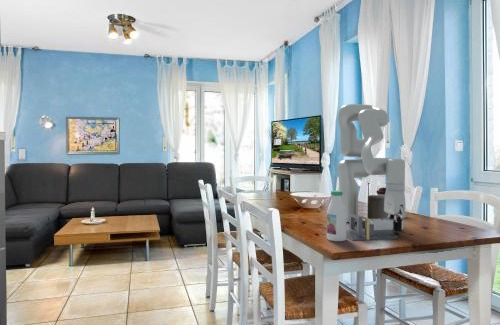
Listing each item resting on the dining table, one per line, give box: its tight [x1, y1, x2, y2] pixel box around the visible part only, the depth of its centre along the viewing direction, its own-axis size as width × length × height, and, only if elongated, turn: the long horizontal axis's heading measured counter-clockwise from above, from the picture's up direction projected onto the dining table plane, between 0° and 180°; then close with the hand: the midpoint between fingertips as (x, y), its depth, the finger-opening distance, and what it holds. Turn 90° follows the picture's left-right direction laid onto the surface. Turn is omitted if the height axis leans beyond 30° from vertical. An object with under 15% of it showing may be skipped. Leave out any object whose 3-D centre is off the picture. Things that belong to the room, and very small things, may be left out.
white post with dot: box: [369, 218, 404, 231], centre depth 157 cm, size 4×14×4 cm, turn 98°
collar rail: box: [346, 213, 399, 241], centre depth 156 cm, size 12×20×9 cm, turn 98°
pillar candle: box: [366, 193, 388, 219], centre depth 183 cm, size 10×10×15 cm
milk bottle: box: [326, 190, 347, 242], centre depth 151 cm, size 8×8×20 cm
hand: (394, 229), depth 158 cm, fingers closed on white post with dot, 4 cm apart
